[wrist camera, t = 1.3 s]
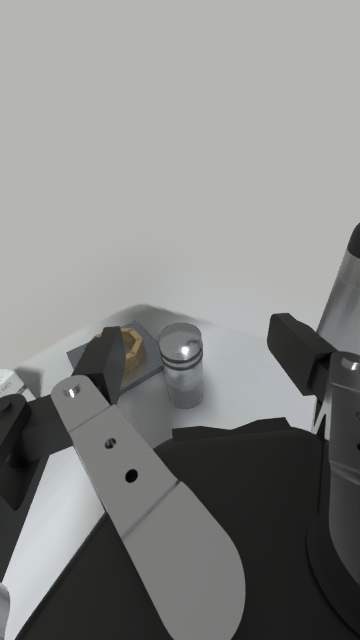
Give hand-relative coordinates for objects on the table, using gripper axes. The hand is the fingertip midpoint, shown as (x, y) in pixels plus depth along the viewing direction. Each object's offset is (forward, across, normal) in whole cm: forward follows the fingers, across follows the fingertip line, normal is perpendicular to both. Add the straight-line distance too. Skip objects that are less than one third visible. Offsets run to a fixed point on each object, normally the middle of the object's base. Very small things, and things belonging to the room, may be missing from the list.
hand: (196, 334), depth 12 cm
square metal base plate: (+22, +11, +18) cm, 30 cm away
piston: (+13, 0, +18) cm, 23 cm away
